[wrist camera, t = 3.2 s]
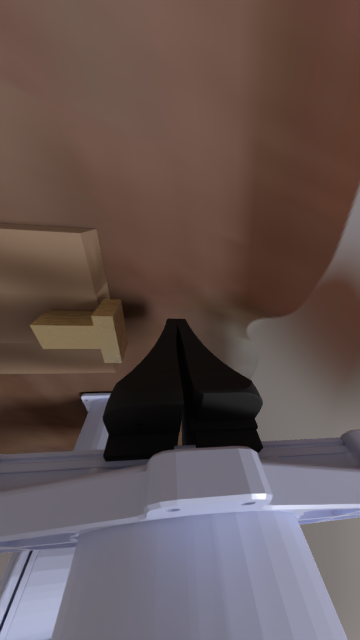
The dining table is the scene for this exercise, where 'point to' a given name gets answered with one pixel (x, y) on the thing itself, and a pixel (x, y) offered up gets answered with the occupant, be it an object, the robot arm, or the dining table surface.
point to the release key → (85, 330)
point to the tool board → (47, 294)
